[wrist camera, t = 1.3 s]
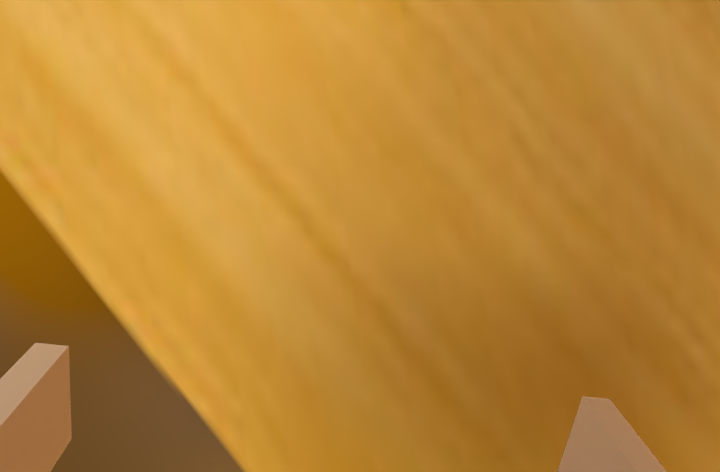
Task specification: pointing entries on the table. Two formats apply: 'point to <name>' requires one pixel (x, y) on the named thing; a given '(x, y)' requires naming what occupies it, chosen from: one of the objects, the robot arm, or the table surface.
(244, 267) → the table surface
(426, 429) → the table surface
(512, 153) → the table surface
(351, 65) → the table surface
